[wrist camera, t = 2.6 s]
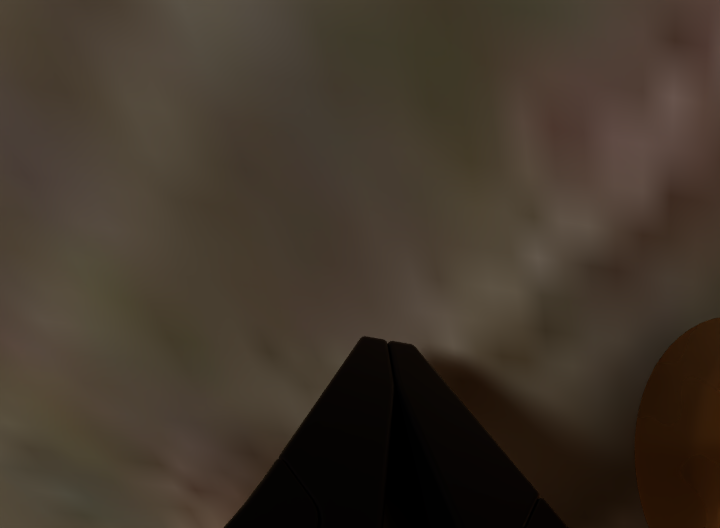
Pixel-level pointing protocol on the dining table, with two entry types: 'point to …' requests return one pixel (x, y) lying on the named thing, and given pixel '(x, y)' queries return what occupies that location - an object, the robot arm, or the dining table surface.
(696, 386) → the knob outer
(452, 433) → the robot arm
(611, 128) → the dining table surface
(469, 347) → the dining table surface
